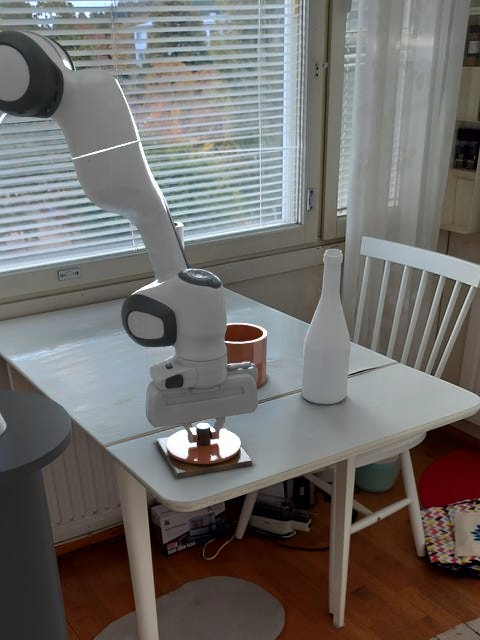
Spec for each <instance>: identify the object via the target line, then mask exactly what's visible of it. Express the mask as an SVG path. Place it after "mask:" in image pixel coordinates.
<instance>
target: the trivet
mask: <svg viewBox="0 0 480 640" xmlns="http://www.w3.org/2000/svg"><path fill="white" fill-rule="evenodd" d="M221 429H225V430H228V431H229V429H228V428H227V427H222V428H221ZM169 437H170V436H166V437H160V438H156V440H155V441H156V445H157V446H158V448H159V450H160V451H161V453H162V455H163V456H164V458H165V460H166V461H167V463H168V464H169V466H170V468H171V469H172V471H173V473H174V474H175V476H176V478H177V479H181V478H186V477H192V476H197V475H203V474H204V475H205V474H208V473H214V472H221V471H226V470H232V469H237V468H243V467H248V466H252V465H253V460H252V458H251V457H250V456H249V454H248V453H247V452H246V451H245V449H244V448H243V447H242V446H241V449H240V451H239V452H238V454H236V455H235V456H234V457H232V458H230V459H228V460H225V461H222V462H218V463H212V464H194V463H188V462H184V461H180V460H178V459H176V458H174V457H172V456H171V455H170V454H169V453H168V451H167V449H166V442H167V440H168V439H169Z"/></svg>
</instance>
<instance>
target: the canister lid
mask: <svg viewBox="0 0 480 640" xmlns="http://www.w3.org/2000/svg"><path fill="white" fill-rule="evenodd" d="M211 427H212V426H211V425H210V423H207V422H200V423H197V424H196V425H195V426H193V427H189V429H190V430H191V431H193V430H195V431H196V433H197V434H198V442H196V443H190V442H189V441H188V432H187V431H186V430H185V428H184V429H182V430H179V431H177V432H174V433H173V434H171V435H170V436H168V437H169V439H168V440H167V442H166V449H167V451H168V453H169V454H170V455H171V456H172V457H174V458H176V459H178V460H180V461H184V462H188V463H194V464H212V463H218V462H222V461H225V460H228V459H230V458H232V457H234V456H235V455H236V454H238V452H239V451H240V449H241V447H242V442H241V439H240V437H239V436H238V435H237V434H236V433H234V432H233V431H230V430H229V429H228V430H225V429H222V428H221V430H220V431H219V439H214V440H211V429H210V428H211Z"/></svg>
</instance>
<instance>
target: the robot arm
mask: <svg viewBox="0 0 480 640" xmlns="http://www.w3.org/2000/svg"><path fill="white" fill-rule="evenodd" d="M76 69H77V68H76V65H75V63H74V61H73V58H72V57H71V55H70V54H69V52H68V51H67V50H66V49H65V48H64V46H63V45H62V44H61V43H59V42H58V41H57V40H55V39H53V38H51V37H48V36H45V35H42V34H40V33H37V32H34V31H30V30H20V31H17V30H11V29H9V30H7V29H6V30H3V31H0V124H1V122H2V121H3V119H4V118H5V116H7V115H9V116H13V117H19V118H36V119H51V120H53V121H54V122H55V123H57V125H58V126H59V128H60V129H61V131H62V134H63V136H64V139H65V141H66V144H67V147H68V150H69V154H70V157H71V160H72V164H73V167H74V171H75V174H76V177H77V179H78V182H79V185H80V186H81V188H82V191H83V193H84V194H85V196H86V197H87V199H88V200H89V201H90V202H91V203H92V204H94V205H95V206H96V207H98V208H99V209H101V210H103V211H105V212H108V213H111V214H115V215H118V216H120V217H123V218H125V219H126V220H128V221H129V222H130V223H132V224H133V225H134V226H135V228H136V229H137V231H138V233H139V235H140V237H141V241H142V242H143V246H144V248H145V250H146V253H147V255H148V258H149V261H150V263H151V265H152V269H153V271H154V281H153V282H151V283H149V284H148V285H145V286H142V287H141V288H140V289H137V290H136V291H134V292H133V293H131V294H130V295H129V296H127V297H126V298H125V299H124V301H123V303H122V305H121V310H120V319H121V323H122V327H123V329H124V332H125V333H126V335H127V336H128V337H129V338H130V340H131V341H133V343H136V344H137V345H139V346H142V347H145V348H166V347H173V348H174V351H175V354H174V355H172V356H170V357H168V358H167V359H164V360H162V361H160V362H157V363H155V364H153V365H152V366H150V367H149V376H150V379H151V381H150V382H149V383H148V386H147V387H146V393H145V418H146V419H147V422H148V424H150V425H151V426H152V427H153V428H156V429H157V428H163V427H170V426H175V425H182V427H183V428H184V429H185V430H186V431H187V432H188V441H189V442H190V443H196V442H198V434H197V433H196V431H195V430H193V431H191V430H190V429H189V428H193V427H192V426H193V423H194V422H201V421H207V420H215V422H214V424H213V425H212V426H210V427H211V428H210V429H211V440H214V439H219V431H220V430H221V429H222V428H223V426H224V424H225V423H226V418H227V417H234V416H240V415H246V414H252V413H255V412H256V410H257V409H258V408H259V395H258V387H256V382H257V379H258V370H257V367H256V366H255V365H254V364H250V362H243V363H235V364H227V347H226V344H225V332H226V329H227V324H228V316H227V315H228V313H227V312H228V311H227V299H226V293H225V288H224V284H223V283H222V281H221V279H220V278H219V277H218V276H217V275H215V274H214V273H212V272H210V271H208V270H205V269H201V268H193V267H192V266H191V264H190V261H189V258H188V256H187V254H186V251H185V247H184V248H183V246H182V243H181V240H180V237H179V234H178V232H177V229H176V226H175V223H174V221H175V220H174V218H173V215H172V213H171V210H170V208H169V205H168V202H167V200H166V198H165V196H164V193H163V191H162V190H161V188H160V186H159V185H158V183H157V182H156V180H155V178H154V176H153V174H152V171H151V170H150V167H149V164H148V162H147V159H146V155H145V152H144V149H143V146H142V142H141V138H140V136H139V131H138V128H137V125H136V123H135V120H134V117H133V114H132V111H131V109H130V106H129V104H128V102H127V99H126V97H125V95H124V92H123V89H122V88H121V85H120V83H119V81H118V80H117V78H115V76H114V75H113V74H111V73H110V72H109V71H106V70H104V69H100V68H91V67H90V68H89V67H88V68H84V69H79V70H76ZM250 366H252V367H250ZM5 429H6V422H5V421H4V419H3V417H2V415H1V413H0V435H1V434H2V433H3V432H4V431H5Z"/></svg>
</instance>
